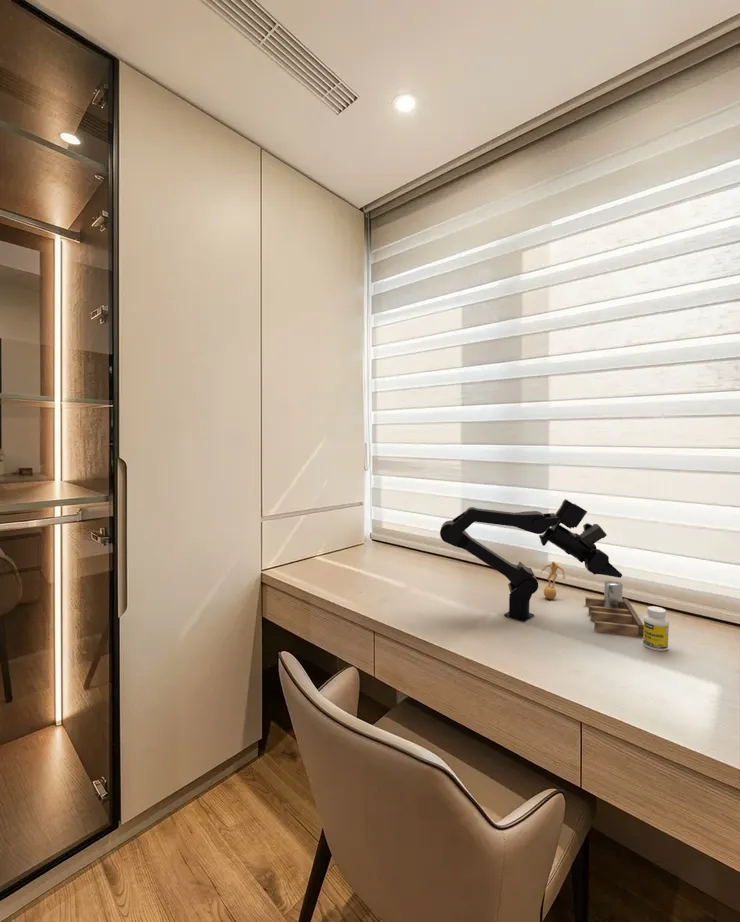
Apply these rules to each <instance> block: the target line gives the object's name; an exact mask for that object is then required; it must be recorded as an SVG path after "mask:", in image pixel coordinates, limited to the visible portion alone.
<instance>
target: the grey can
mask: <svg viewBox="0 0 740 922" xmlns="http://www.w3.org/2000/svg"><path fill="white" fill-rule="evenodd" d="M603 589H604V590H603V591H604V593H603V595H604V596H603V597H604V598H603V599H604V607H608V608H618V609H622V601H623V583H622V582H619V581H616V580H615V581H614V580H605V581H604V587H603Z"/></svg>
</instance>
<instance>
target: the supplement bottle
mask: <svg viewBox="0 0 740 922" xmlns="http://www.w3.org/2000/svg"><path fill="white" fill-rule="evenodd" d="M646 613H647V614H646V615H645V616H644V618H643V625H644V631H643V637H642V643H643V646H644V647H646V648H647V649H650V650H653V651H657V652H665V651H666V650H668V648H669V631H670V630H669V628H670V627H669V626H670V623H669V622H670V621H669V620H668V619H667V618H666V616H667V611H666V609H665V608H663V607H660V606H654V605H652V606H650V605H649V606H647V610H646Z"/></svg>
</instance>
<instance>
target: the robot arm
mask: <svg viewBox="0 0 740 922" xmlns="http://www.w3.org/2000/svg"><path fill="white" fill-rule="evenodd" d="M587 513H588V511H587V510H585V509H584V508H582V507H580V506H579V505H578V504H576V503H573V502H572V501H570V500H568V499H566V498H564V500H563V501H562V503H561V505H560V507H559V508H558V509H557V511H556V512H555V513H554V512H550V513H548V512H547V513H542V512H541V511H538V510H532V511H531V510H529V511H526V510H525V511H520V512H511V511H504V510H503V511H502V510H495V509H494V510H493V509H486V508H477V507H474V506H470V507H468V508H467V509H466V510H465V511H464V512H462V513H460V514H459V515H457V516H456V517H455V518H453V519H452V520H446V521H444V523H443V524H442V525H441V527H440V532H439V535H440V539H441V541H443V542H444V543H447V544H448V545H451V546H453V547H456V548H459V549H462V550H465V551H467V552H468V553H469V554H471V555H473V556H474V557H476V558H477V559H479V560H480V561H482V562H484V563H485V564H486V565H487V566H489V567H490V568H492V569H494V570H496V571H497V572H498V573H500V574H502V575H503V576H505V578H507V580H508V581H509V583H508V584H507V585H508V590H509V596H508V597H509V598H508V599H509V600H508V608H509V609H508V611H507V612H505V613H504V614H503V615H504V617H507V618H510V619H514V620H517V621H519V622H522V623H524V622H527V621H528V620H531V618H533V617H535V614H534V613H532V612H530V602H531V601H530V600H531V598H532V595H533V594H535V593H537V591H538V589H539V581H538V580H537V577H536V575H535V573H534V572H533V569H532V568H531V567H528V566H526V565H525V564H524V563H523V562H522V561H519V562H518V564H515V563H512V562H509V560H507V559H505V558H503V557H502V556H501V555H499V554H497V553H496V552H494V551H493V550H491V549H490V548H489V547H486V546H485V545H483V544H482V543H480V542H479V541H478V540H476V539H475V538H473V537H472V536H471V535H470V534H469V533H468V532H467V531H466V530H467V529H468V528H469V527H471V525H473V524H474V523H484V524H489V525H490V524H491V525H500V526H506V527H514V528H518V529H520V530H523V531H525V532H529V533H532V534H536V535H538V537H539V539H540V543H541V545H542V546H543V547H545V546H546V544H547V543H548V542H549V543H551V544H552V545H555V546H556V547H558V548H559V549H561V550H562V551H564V553H565V554H567V555H570V556H572V557H573V558H575V559H576V560H578V561H579V562H580V563H583V564H584V568H585V569H586V570H587V571H588V572H590V573H591V574H593V575H600V576H601V575H602V576H608V577H613V578H619V579H621V578H622V577H623V573H622V572H620V571H619V570H618V569H617V568H616V567H615V566H613V564H612V563H610V559H609V555H608V554H606V552H604V551H602V550H601V549H599V548H597V546H596V545H597V544H596V543H598V541H600V540H601V539H604V538H606V537H607V536H608V535H607V533H606V532H605V530H604V529H603V528H602V527H601V526H600V525H599V524H598V523H593V524H590V523H588V522H586V523H585V524H583V525H582V527H583V531H582V533H581V534H578V533H577V532H572V531H571V529H574V528H577V527H578V526H579V524H580V523H581V521H582V520H583V519H584V518H585V516H586V515H587ZM562 525H563V526H562ZM564 526H565V527H564ZM569 529H570V530H569Z"/></svg>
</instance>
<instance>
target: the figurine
mask: <svg viewBox="0 0 740 922" xmlns="http://www.w3.org/2000/svg"><path fill="white" fill-rule="evenodd" d="M549 567H550V571H549V573H548V575H547V581H548V582H549V583H548V585H547V586H546V587H545V588H544V589H543V596H544V597H545V598H546V599H548V600H553V599H555V598H556V597H557V589H555V588H554V587H555V584H556V579H557V577H558V573H557V571H558V569H559V570H561V571H562V579H563V580H565V579H566V575H565V569H564V568H562V567H561V566H560V565H559V563H557V562H555V561H552V562H551V563H549V564H546V565H545V566H544V567H543V568H542V569H541V571H540V575H541V574H542V573H543V571H544V570H546V568H549ZM551 579H552V580H551ZM551 581H552V582H553V583H552V586H551Z"/></svg>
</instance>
